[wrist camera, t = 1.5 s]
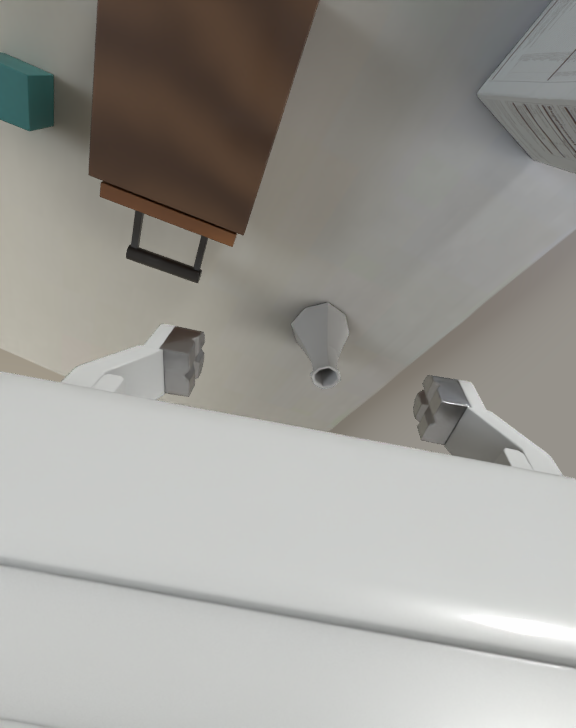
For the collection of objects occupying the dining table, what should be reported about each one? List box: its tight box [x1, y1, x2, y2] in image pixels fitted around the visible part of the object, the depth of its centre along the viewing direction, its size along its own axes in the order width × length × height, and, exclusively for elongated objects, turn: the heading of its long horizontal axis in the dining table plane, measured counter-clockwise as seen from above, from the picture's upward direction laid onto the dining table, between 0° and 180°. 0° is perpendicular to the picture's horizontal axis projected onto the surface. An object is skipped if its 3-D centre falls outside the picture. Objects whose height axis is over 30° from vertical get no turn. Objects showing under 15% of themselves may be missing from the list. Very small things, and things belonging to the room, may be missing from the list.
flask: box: [291, 303, 349, 389], centre depth 43 cm, size 7×7×10 cm
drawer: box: [100, 181, 237, 283], centre depth 31 cm, size 21×11×7 cm, turn 158°
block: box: [0, 52, 54, 131], centre depth 30 cm, size 4×4×4 cm
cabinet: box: [89, 0, 319, 235], centre depth 28 cm, size 17×13×9 cm
